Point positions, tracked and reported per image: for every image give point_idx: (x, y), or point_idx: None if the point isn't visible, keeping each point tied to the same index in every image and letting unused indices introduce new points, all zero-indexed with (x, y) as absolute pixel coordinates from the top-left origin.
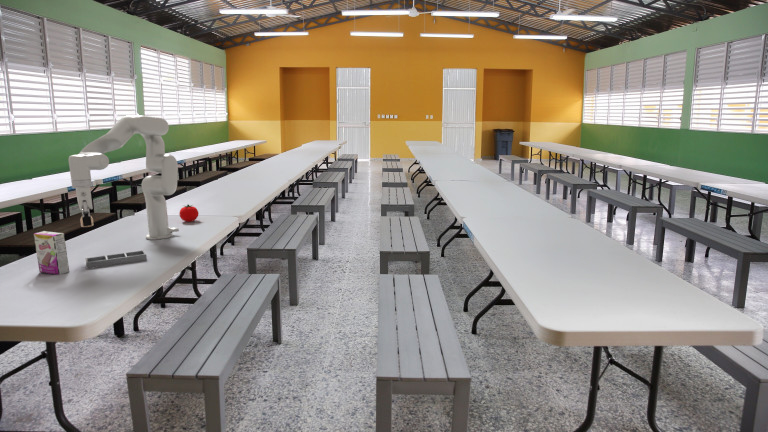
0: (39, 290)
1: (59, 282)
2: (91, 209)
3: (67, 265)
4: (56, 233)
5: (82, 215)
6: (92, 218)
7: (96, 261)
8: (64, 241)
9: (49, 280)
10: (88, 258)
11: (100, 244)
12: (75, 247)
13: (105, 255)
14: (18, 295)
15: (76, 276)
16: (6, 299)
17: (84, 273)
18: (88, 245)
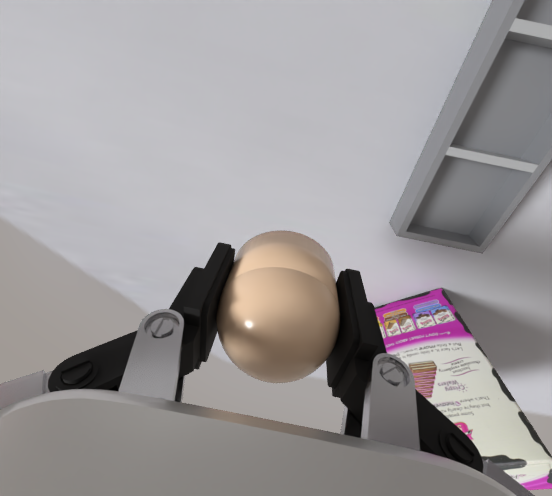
0: (549, 371)
1: (534, 331)
2: (481, 477)
3: (454, 308)
4: (514, 475)
5: (201, 361)
6: (302, 282)
7: (508, 217)
8: (519, 408)
9: (478, 340)
10: (407, 225)
11: (24, 61)
12: (55, 182)
13: (441, 151)
14: (531, 398)
15: (529, 287)
16: (532, 412)
17: (523, 261)
18: (31, 124)
